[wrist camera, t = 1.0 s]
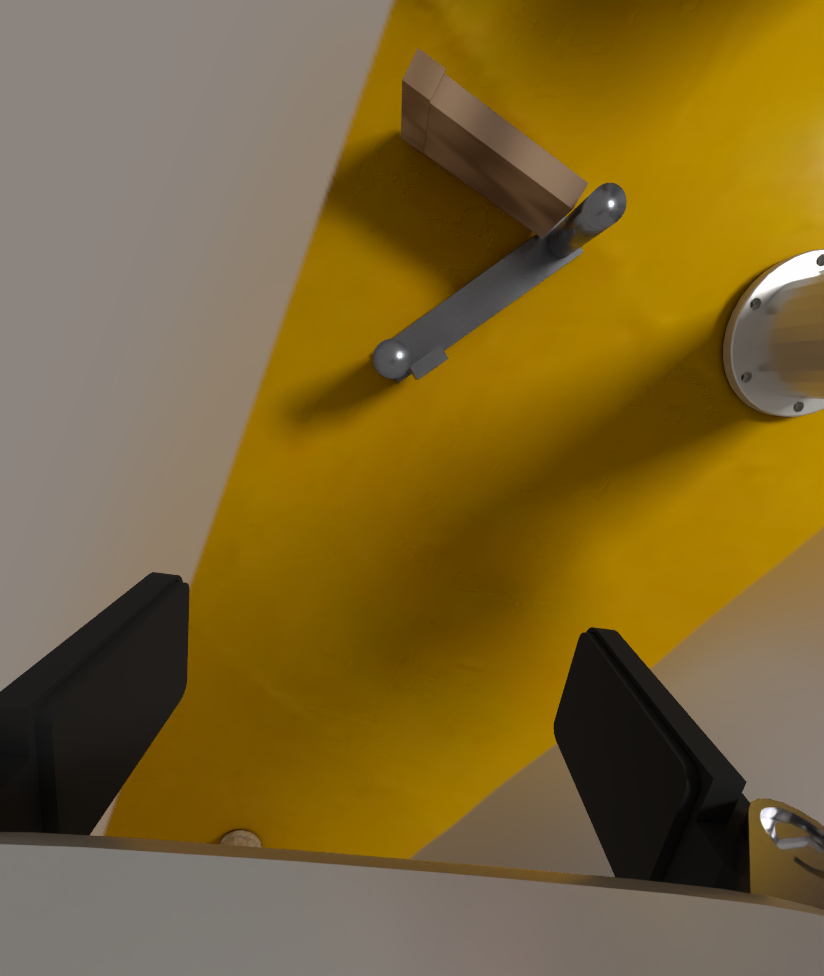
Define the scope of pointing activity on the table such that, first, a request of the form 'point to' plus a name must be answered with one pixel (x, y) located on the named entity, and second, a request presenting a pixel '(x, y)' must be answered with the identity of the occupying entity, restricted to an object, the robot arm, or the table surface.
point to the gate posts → (497, 287)
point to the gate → (484, 148)
